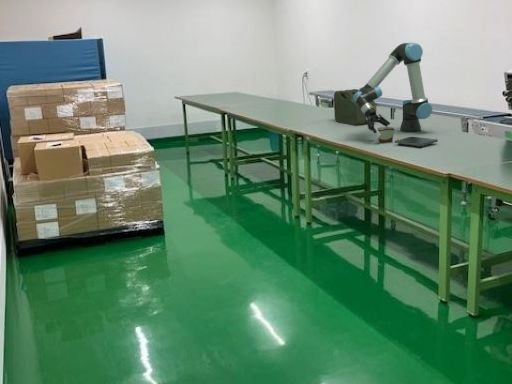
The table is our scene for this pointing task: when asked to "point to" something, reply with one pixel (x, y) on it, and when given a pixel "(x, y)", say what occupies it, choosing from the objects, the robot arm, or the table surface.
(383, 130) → the food container
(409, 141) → the levelling stand
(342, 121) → the fuel can
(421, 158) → the table surface
